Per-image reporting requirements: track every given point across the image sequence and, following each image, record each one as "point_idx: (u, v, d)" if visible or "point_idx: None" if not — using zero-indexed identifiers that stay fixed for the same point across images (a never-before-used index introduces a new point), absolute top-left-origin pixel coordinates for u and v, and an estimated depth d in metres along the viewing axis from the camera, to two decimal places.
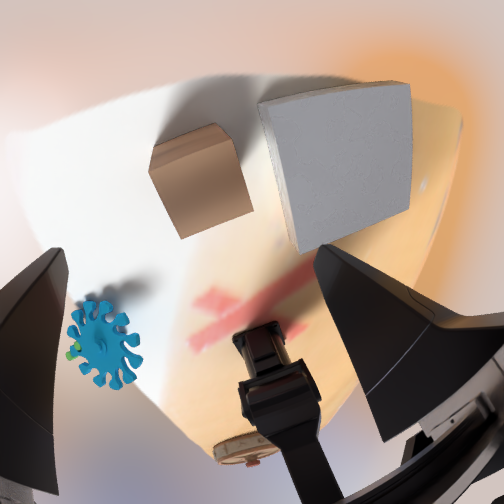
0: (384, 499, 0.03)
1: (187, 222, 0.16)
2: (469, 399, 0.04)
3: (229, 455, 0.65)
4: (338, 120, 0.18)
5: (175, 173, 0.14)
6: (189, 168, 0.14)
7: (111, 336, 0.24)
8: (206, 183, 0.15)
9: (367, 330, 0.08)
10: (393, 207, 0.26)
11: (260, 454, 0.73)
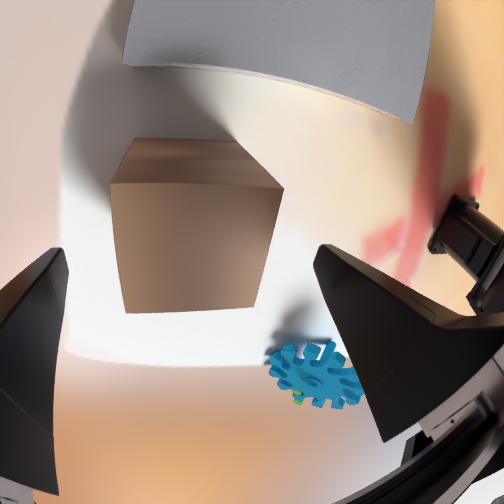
0: (384, 499, 0.03)
1: (232, 293, 0.10)
2: (469, 399, 0.04)
3: None
4: None
5: (141, 285, 0.09)
6: (140, 265, 0.08)
7: (315, 370, 0.22)
8: (180, 249, 0.08)
9: (367, 330, 0.08)
10: None
11: None
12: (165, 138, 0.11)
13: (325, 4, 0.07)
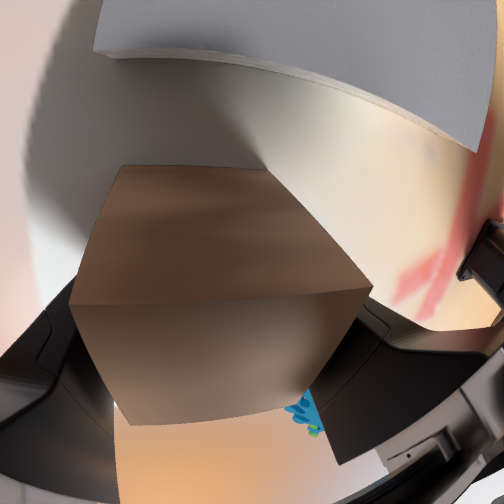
0: (384, 499, 0.03)
1: (273, 400, 0.07)
2: (430, 433, 0.04)
3: None
4: None
5: (148, 407, 0.05)
6: (144, 393, 0.05)
7: None
8: (205, 376, 0.05)
9: None
10: None
11: None
12: (166, 165, 0.08)
13: None
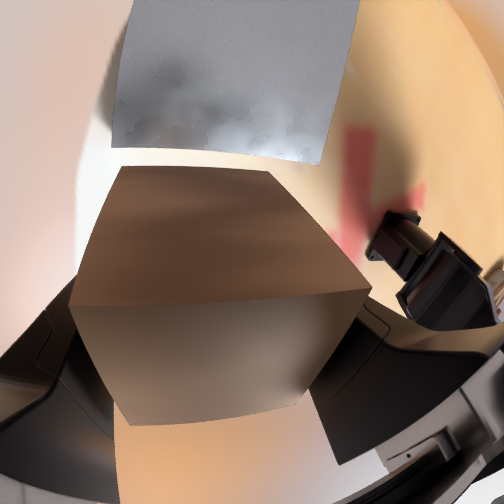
0: (384, 499, 0.03)
1: (272, 400, 0.07)
2: (430, 433, 0.04)
3: None
4: (160, 60, 0.12)
5: (147, 408, 0.05)
6: (143, 394, 0.05)
7: None
8: (204, 377, 0.05)
9: None
10: (342, 17, 0.12)
11: (497, 301, 0.56)
12: (165, 166, 0.08)
13: (238, 90, 0.14)
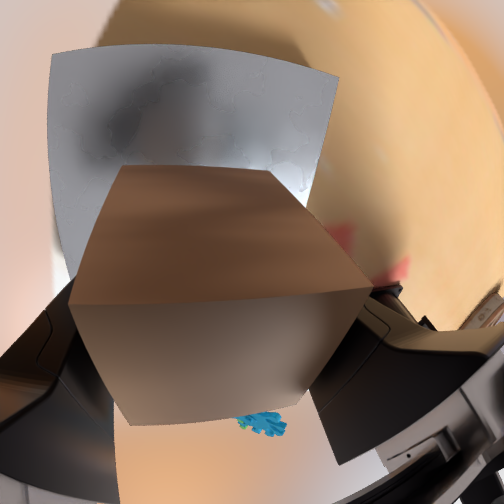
0: (384, 499, 0.03)
1: (273, 400, 0.07)
2: (430, 433, 0.04)
3: None
4: (95, 218, 0.12)
5: (148, 408, 0.05)
6: (144, 394, 0.05)
7: None
8: (205, 377, 0.05)
9: None
10: (311, 116, 0.12)
11: (491, 324, 0.55)
12: (166, 165, 0.08)
13: None
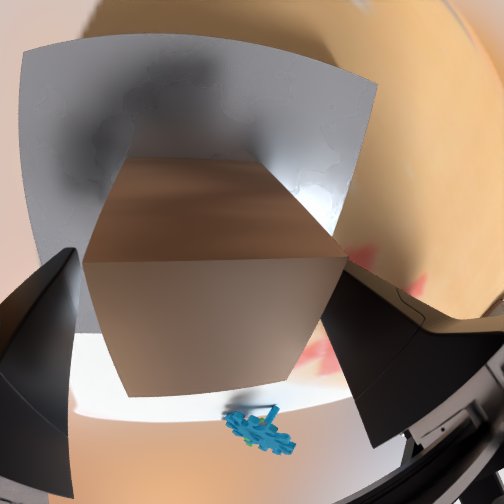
0: (384, 499, 0.03)
1: (263, 372, 0.07)
2: (461, 407, 0.04)
3: None
4: (83, 253, 0.10)
5: (146, 375, 0.06)
6: (142, 358, 0.06)
7: (257, 431, 0.27)
8: (198, 340, 0.06)
9: (355, 333, 0.07)
10: (345, 130, 0.10)
11: None
12: (166, 158, 0.09)
13: None
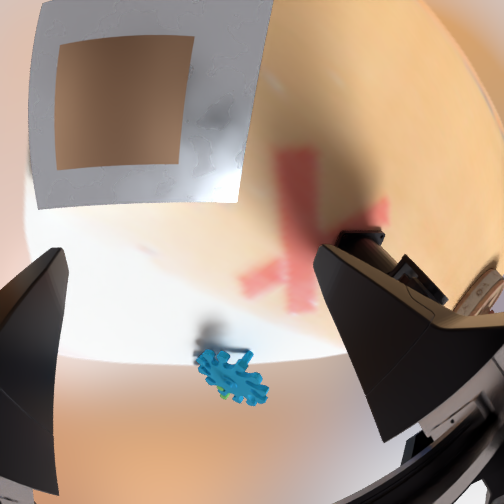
0: (384, 499, 0.03)
1: (153, 143, 0.09)
2: (469, 399, 0.04)
3: None
4: None
5: (71, 134, 0.07)
6: (71, 112, 0.07)
7: (228, 371, 0.29)
8: (105, 92, 0.07)
9: (367, 330, 0.08)
10: (248, 29, 0.11)
11: (490, 302, 0.55)
12: None
13: None
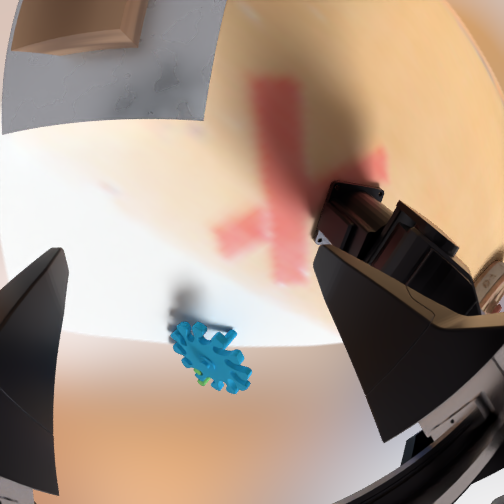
0: (384, 499, 0.03)
1: (99, 12, 0.05)
2: (469, 399, 0.04)
3: None
4: None
5: (30, 17, 0.04)
6: (35, 0, 0.03)
7: (204, 348, 0.25)
8: None
9: (367, 330, 0.08)
10: None
11: (497, 296, 0.51)
12: None
13: (99, 56, 0.10)
